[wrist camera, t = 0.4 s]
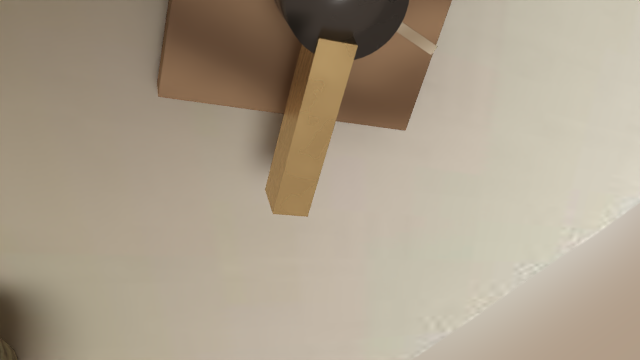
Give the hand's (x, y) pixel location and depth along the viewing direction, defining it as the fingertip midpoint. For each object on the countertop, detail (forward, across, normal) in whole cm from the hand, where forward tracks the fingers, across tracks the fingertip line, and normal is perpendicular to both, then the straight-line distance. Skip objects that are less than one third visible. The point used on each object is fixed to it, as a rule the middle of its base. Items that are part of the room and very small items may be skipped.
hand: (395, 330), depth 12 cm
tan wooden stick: (+24, +2, 0) cm, 24 cm away
